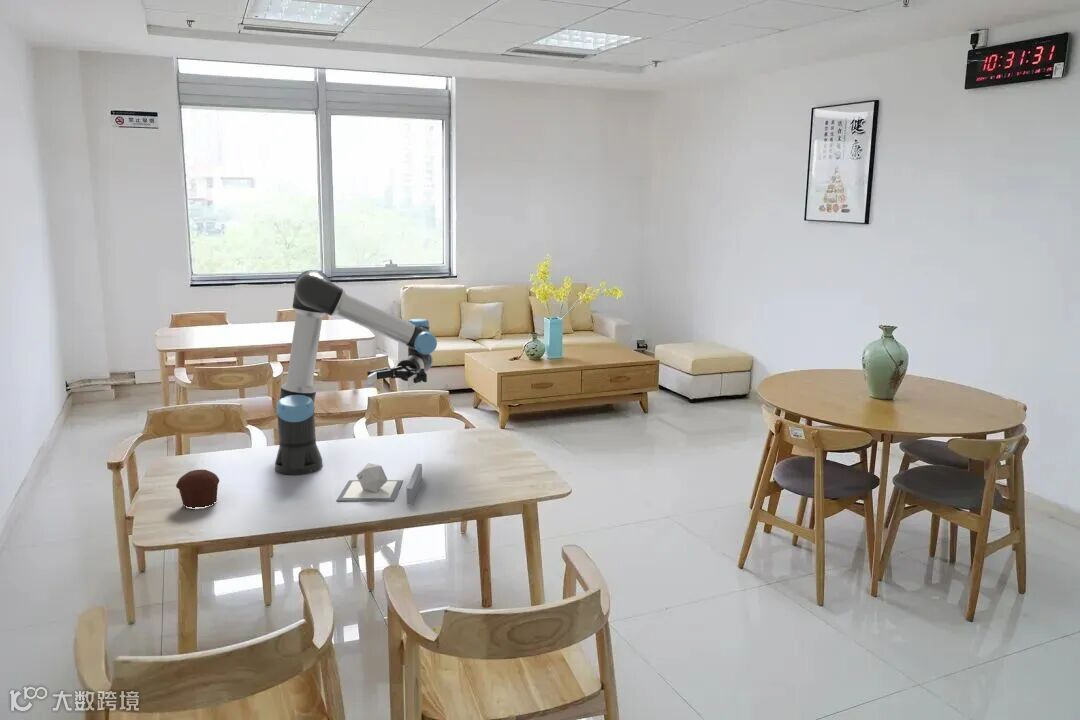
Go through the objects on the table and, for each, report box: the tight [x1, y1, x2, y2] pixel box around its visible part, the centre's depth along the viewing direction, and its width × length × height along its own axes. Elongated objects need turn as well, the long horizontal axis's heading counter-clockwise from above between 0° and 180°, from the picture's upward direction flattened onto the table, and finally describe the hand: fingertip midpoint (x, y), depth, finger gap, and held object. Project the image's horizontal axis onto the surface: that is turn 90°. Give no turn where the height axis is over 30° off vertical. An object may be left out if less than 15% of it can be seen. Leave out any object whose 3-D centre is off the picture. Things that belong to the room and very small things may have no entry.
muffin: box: [175, 469, 220, 508], centre depth 232 cm, size 12×11×10 cm
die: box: [356, 462, 389, 493], centre depth 242 cm, size 8×9×10 cm
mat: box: [335, 479, 404, 503], centre depth 243 cm, size 17×17×1 cm
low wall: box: [406, 463, 423, 506], centre depth 243 cm, size 2×22×5 cm, turn 1°
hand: (388, 381), depth 254 cm, fingers open, 13 cm apart
